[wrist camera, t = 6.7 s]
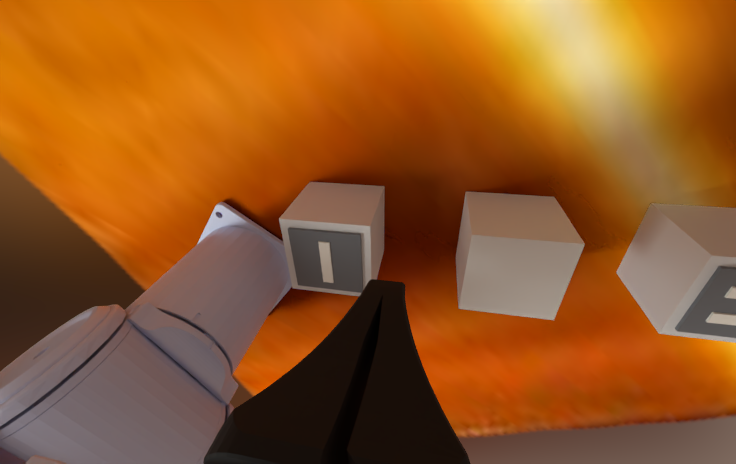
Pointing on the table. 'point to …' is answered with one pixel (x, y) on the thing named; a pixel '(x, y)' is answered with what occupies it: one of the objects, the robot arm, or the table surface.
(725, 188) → the table surface
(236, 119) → the table surface
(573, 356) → the table surface
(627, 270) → the marked block 2
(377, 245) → the marked block 1
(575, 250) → the plain block
